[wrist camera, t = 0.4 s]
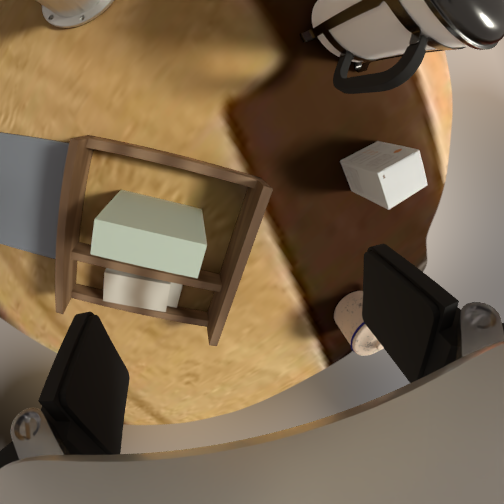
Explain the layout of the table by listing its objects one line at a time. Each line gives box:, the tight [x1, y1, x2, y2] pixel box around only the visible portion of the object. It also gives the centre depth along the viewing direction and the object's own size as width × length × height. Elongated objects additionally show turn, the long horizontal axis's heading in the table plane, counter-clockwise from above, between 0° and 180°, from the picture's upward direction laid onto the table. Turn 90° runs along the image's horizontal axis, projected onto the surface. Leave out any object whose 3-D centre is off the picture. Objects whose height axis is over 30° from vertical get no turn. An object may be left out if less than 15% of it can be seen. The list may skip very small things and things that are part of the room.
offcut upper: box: [103, 268, 171, 312], centre depth 43 cm, size 10×5×2 cm, turn 73°
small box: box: [340, 141, 427, 210], centre depth 39 cm, size 8×6×10 cm
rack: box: [55, 135, 273, 346], centre depth 39 cm, size 25×25×7 cm
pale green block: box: [90, 190, 207, 278], centre depth 35 cm, size 12×4×13 cm, turn 71°
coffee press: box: [300, 0, 504, 94], centre depth 21 cm, size 17×16×30 cm
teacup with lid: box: [334, 291, 384, 356], centre depth 50 cm, size 12×9×12 cm
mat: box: [0, 132, 69, 259], centre depth 35 cm, size 18×18×1 cm
